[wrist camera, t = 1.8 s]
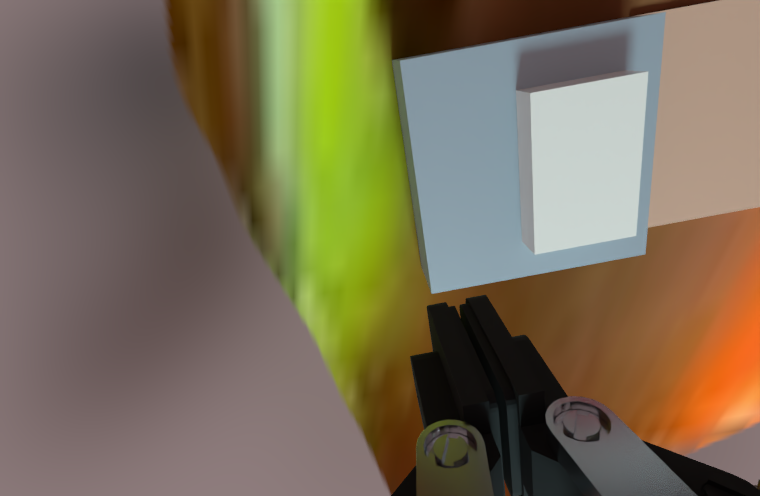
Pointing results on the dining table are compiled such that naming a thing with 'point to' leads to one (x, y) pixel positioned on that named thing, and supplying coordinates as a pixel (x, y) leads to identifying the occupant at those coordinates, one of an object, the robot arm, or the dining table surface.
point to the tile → (581, 159)
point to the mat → (707, 113)
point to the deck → (506, 145)
